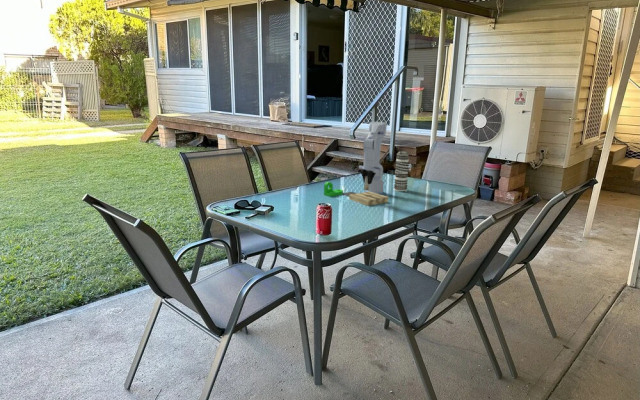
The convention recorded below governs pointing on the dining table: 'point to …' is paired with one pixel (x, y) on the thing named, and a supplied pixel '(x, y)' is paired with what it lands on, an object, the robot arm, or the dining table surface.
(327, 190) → the mechanical part
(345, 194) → the mat
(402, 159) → the grey striped cylinder
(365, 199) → the socket block
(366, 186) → the pin
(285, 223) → the dining table surface
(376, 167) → the robot arm
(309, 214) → the dining table surface
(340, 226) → the dining table surface
